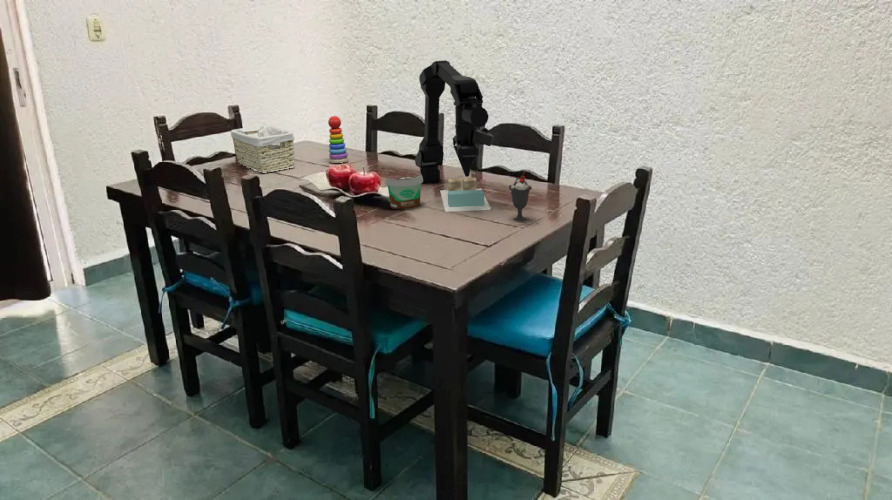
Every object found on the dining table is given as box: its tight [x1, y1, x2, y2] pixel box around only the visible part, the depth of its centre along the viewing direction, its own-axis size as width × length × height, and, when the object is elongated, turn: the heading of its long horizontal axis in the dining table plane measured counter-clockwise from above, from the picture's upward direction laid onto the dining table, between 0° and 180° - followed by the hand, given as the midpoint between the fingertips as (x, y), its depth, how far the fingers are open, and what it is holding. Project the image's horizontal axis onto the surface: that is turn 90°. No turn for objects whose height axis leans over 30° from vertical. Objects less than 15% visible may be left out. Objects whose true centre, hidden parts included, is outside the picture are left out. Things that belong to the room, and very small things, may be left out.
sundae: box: [508, 171, 533, 224], centre depth 187 cm, size 7×7×15 cm
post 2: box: [462, 177, 478, 191], centre depth 215 cm, size 4×4×5 cm
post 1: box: [447, 177, 462, 191], centre depth 215 cm, size 4×4×5 cm
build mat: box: [440, 188, 492, 213], centre depth 210 cm, size 14×24×1 cm, turn 4°
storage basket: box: [230, 124, 296, 172], centre depth 258 cm, size 24×16×15 cm
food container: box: [384, 172, 423, 210], centre depth 202 cm, size 12×6×10 cm, turn 117°
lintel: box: [448, 189, 485, 207], centre depth 204 cm, size 11×4×4 cm, turn 94°
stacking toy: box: [327, 115, 350, 164], centre depth 262 cm, size 8×8×19 cm
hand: (465, 172), depth 201 cm, fingers open, 9 cm apart
